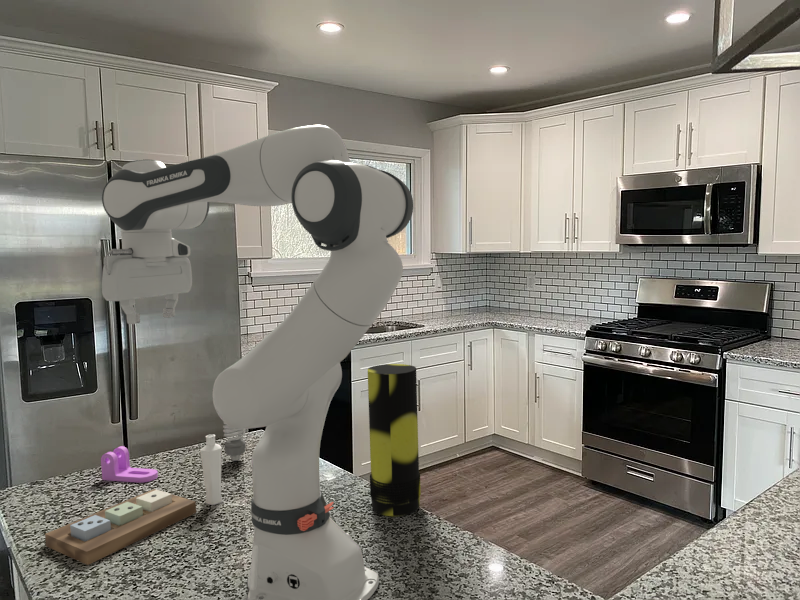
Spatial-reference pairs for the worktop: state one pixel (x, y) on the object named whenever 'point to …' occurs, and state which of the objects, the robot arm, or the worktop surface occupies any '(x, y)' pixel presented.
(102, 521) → the tile
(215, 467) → the white faceted bottle
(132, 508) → the tile
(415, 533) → the worktop surface
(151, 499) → the tile
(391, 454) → the container
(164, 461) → the worktop surface
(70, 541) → the dice board
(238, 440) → the light bulb
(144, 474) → the bracket
